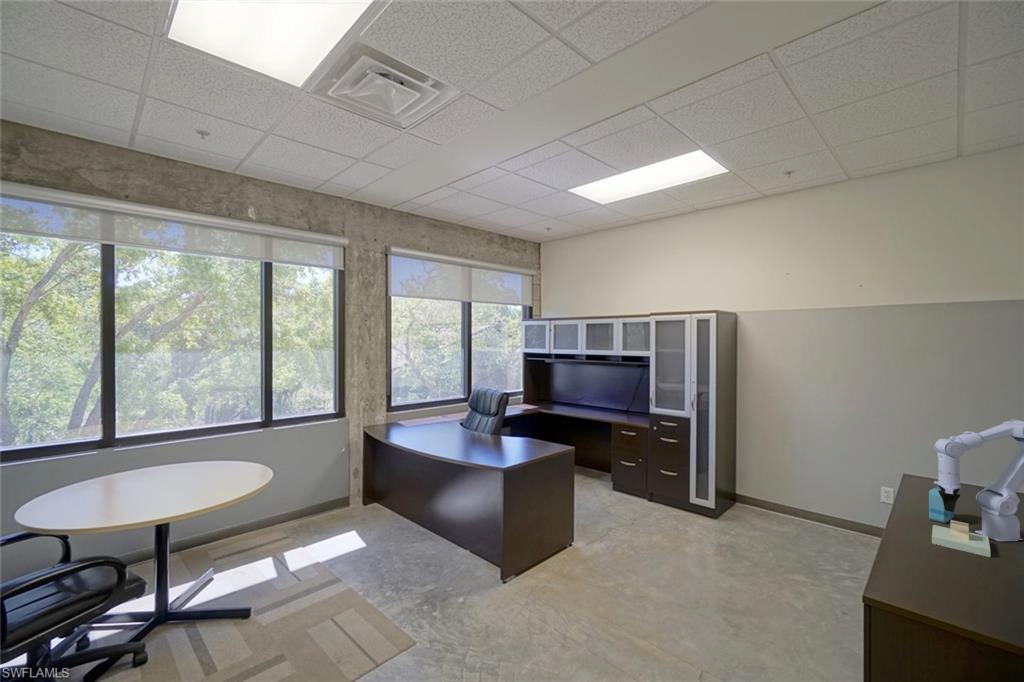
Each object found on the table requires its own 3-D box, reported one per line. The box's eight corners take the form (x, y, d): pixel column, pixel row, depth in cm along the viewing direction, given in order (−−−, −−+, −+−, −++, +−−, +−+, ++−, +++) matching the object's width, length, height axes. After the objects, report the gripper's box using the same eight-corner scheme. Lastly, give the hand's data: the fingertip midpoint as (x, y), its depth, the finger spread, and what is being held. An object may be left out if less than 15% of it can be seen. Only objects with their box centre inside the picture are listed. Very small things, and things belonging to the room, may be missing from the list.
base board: (933, 531, 164) (933, 524, 164) (988, 543, 154) (988, 536, 154) (931, 543, 154) (931, 536, 154) (990, 557, 144) (990, 549, 144)
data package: (944, 524, 170) (944, 493, 170) (929, 520, 174) (928, 490, 174) (954, 517, 176) (954, 488, 176) (939, 514, 180) (939, 485, 180)
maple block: (950, 532, 157) (950, 520, 157) (968, 536, 154) (968, 523, 154) (950, 536, 154) (950, 523, 154) (968, 540, 151) (968, 527, 151)
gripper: (934, 465, 170) (934, 500, 170) (933, 473, 160) (933, 510, 160) (960, 469, 165) (960, 505, 165) (961, 478, 155) (961, 516, 155)
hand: (949, 508), depth 162 cm, fingers open, 7 cm apart
